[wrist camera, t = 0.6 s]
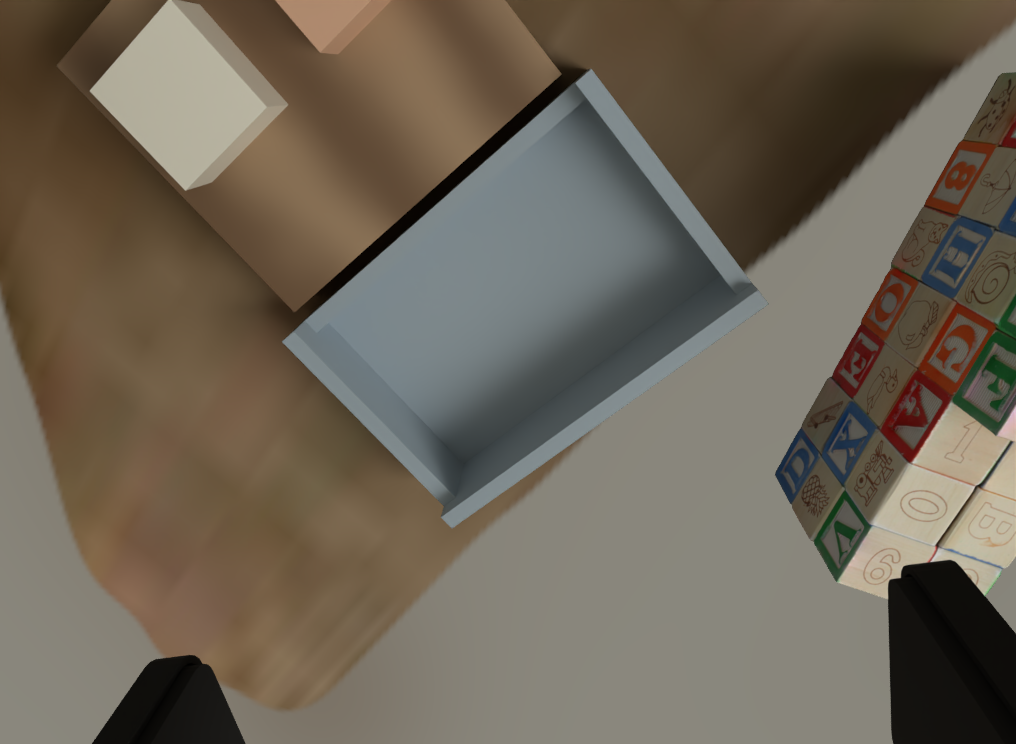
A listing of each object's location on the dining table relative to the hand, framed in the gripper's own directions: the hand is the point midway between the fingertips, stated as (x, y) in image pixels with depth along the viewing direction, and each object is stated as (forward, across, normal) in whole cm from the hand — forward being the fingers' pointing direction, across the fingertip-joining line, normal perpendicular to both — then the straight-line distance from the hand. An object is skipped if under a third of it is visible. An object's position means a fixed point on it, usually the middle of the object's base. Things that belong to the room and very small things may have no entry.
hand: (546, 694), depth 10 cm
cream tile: (+25, +13, -10) cm, 30 cm away
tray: (+28, +2, +2) cm, 28 cm away
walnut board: (+28, +9, -10) cm, 31 cm away
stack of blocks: (+28, -17, +7) cm, 34 cm away
